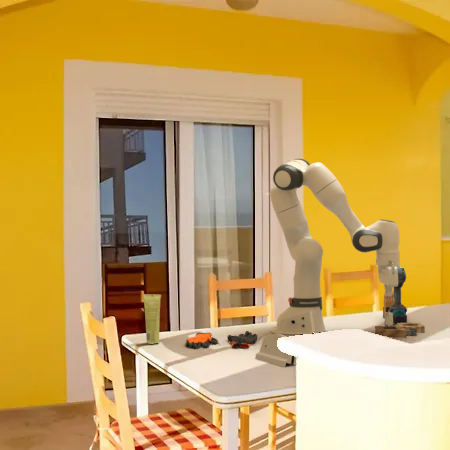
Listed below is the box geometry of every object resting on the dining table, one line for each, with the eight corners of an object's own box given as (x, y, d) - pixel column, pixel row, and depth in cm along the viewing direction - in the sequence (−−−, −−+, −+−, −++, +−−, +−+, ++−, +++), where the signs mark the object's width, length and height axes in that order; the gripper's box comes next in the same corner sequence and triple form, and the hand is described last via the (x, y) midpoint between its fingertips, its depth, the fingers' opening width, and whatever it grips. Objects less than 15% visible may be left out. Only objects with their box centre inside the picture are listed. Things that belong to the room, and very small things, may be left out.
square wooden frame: (401, 333, 249) (401, 326, 249) (397, 329, 258) (396, 323, 258) (424, 332, 248) (424, 326, 248) (419, 328, 257) (419, 322, 257)
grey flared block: (254, 358, 213) (261, 329, 215) (264, 361, 215) (271, 332, 217) (284, 367, 199) (291, 336, 200) (295, 370, 201) (302, 339, 203)
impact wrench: (401, 318, 285) (399, 263, 285) (411, 326, 263) (409, 267, 262) (384, 318, 286) (382, 264, 286) (392, 326, 263) (390, 267, 263)
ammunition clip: (386, 318, 285) (385, 292, 285) (383, 318, 287) (382, 292, 287) (401, 315, 291) (401, 290, 291) (398, 315, 293) (397, 290, 293)
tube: (158, 341, 248) (156, 293, 248) (162, 344, 244) (160, 294, 244) (144, 343, 246) (143, 294, 246) (148, 345, 241) (147, 295, 241)
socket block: (379, 338, 240) (379, 330, 240) (375, 333, 250) (374, 326, 250) (406, 337, 240) (405, 329, 240) (400, 332, 250) (400, 325, 249)
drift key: (394, 335, 243) (394, 328, 243) (392, 334, 247) (392, 327, 247) (416, 335, 242) (416, 328, 242) (414, 333, 246) (414, 326, 246)
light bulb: (385, 336, 243) (385, 313, 243) (384, 334, 247) (383, 312, 247) (394, 336, 243) (393, 313, 243) (392, 334, 246) (391, 312, 246)
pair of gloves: (181, 350, 233) (180, 341, 233) (193, 337, 257) (193, 329, 257) (254, 349, 229) (253, 340, 229) (259, 337, 253) (259, 328, 253)
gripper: (402, 262, 234) (402, 299, 234) (390, 259, 255) (391, 292, 255) (385, 262, 235) (385, 299, 235) (375, 259, 255) (375, 293, 255)
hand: (388, 295), depth 245 cm, fingers closed
